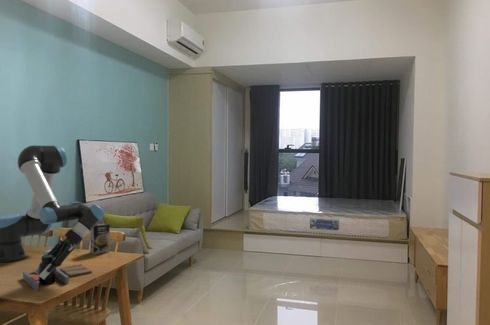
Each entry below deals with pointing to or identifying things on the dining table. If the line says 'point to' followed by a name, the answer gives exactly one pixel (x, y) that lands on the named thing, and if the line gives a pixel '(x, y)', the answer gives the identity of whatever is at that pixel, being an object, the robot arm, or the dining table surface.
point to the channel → (35, 284)
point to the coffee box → (100, 238)
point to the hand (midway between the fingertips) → (38, 275)
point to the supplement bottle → (52, 276)
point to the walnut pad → (75, 270)
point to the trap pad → (36, 277)
